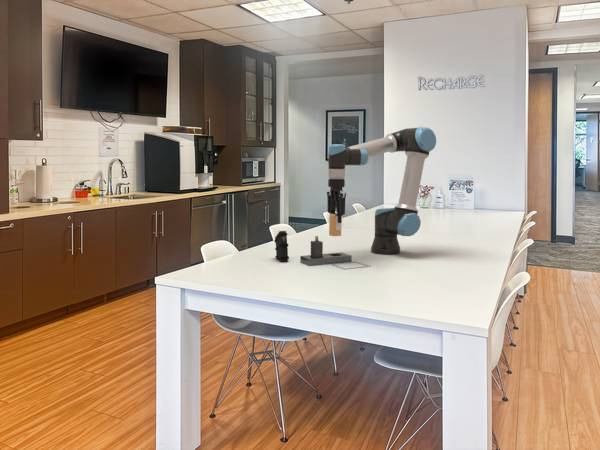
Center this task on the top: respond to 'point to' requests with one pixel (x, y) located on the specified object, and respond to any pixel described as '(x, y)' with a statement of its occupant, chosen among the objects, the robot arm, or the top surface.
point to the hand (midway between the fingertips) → (335, 229)
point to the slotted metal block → (326, 259)
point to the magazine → (281, 246)
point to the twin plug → (316, 248)
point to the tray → (350, 268)
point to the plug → (333, 226)
